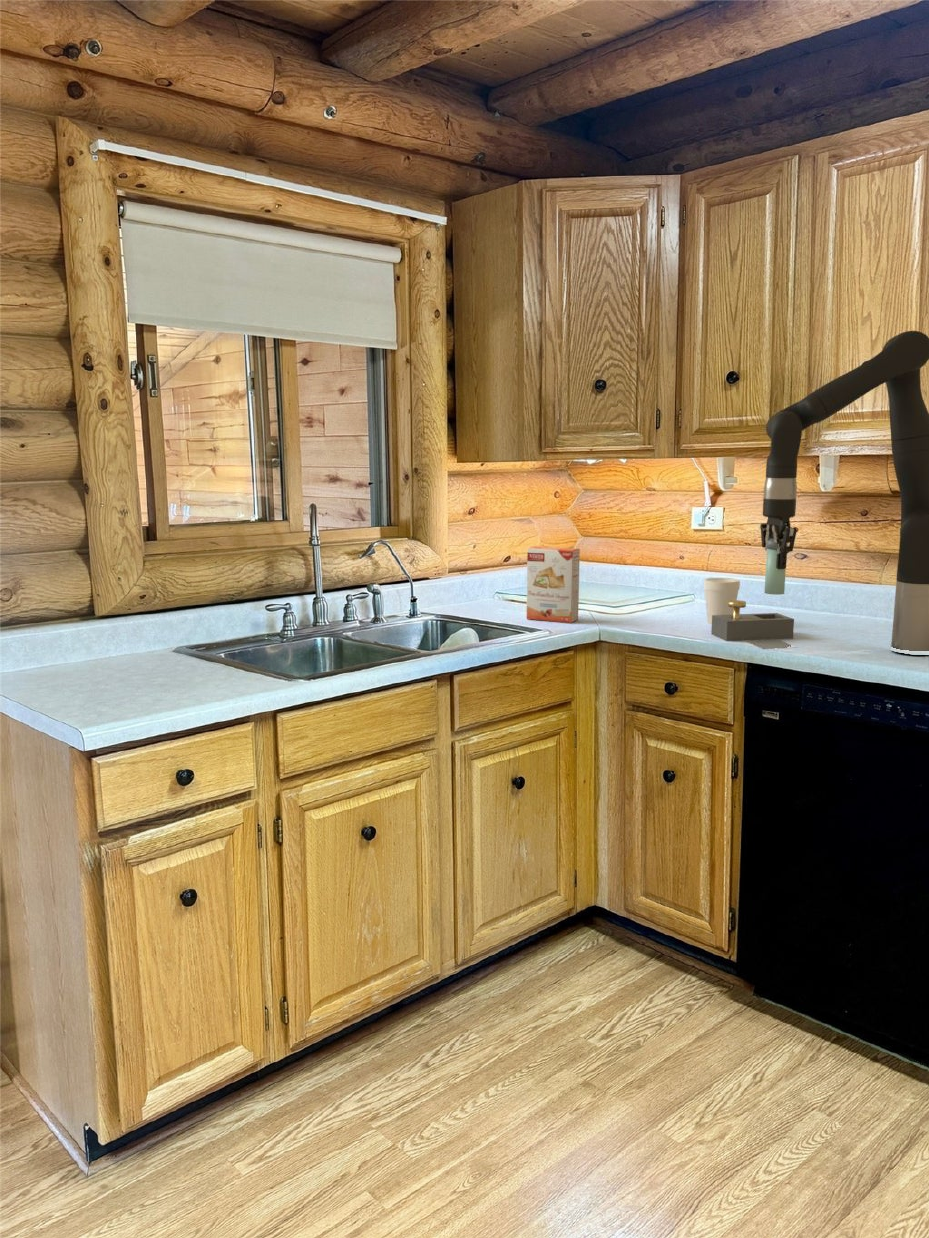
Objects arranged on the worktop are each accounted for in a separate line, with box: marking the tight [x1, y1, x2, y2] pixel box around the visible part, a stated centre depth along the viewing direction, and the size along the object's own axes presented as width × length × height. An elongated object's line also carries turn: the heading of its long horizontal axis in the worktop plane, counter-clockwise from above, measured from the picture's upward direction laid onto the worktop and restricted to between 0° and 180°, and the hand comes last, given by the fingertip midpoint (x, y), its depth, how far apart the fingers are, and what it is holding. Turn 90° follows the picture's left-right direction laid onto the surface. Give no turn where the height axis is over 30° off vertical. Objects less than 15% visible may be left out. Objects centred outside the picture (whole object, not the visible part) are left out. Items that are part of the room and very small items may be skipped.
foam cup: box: [703, 577, 741, 625], centre depth 264 cm, size 10×9×13 cm
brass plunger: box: [728, 599, 747, 619], centre depth 245 cm, size 4×4×9 cm
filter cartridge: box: [764, 539, 787, 596], centre depth 232 cm, size 5×5×13 cm
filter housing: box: [710, 612, 795, 642], centre depth 246 cm, size 18×9×6 cm, turn 100°
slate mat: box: [745, 639, 792, 650], centre depth 236 cm, size 9×9×1 cm
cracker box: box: [526, 545, 581, 624], centre depth 273 cm, size 14×6×21 cm, turn 62°
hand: (775, 567), depth 233 cm, fingers closed on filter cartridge, 4 cm apart
